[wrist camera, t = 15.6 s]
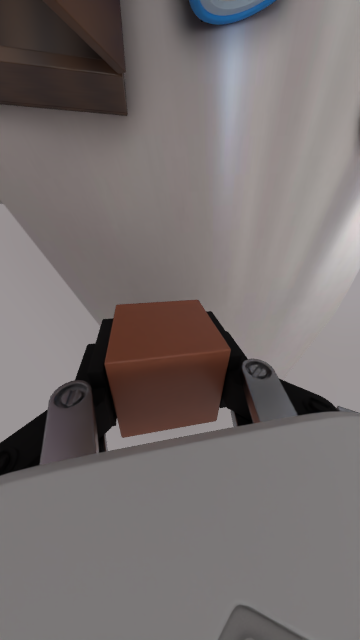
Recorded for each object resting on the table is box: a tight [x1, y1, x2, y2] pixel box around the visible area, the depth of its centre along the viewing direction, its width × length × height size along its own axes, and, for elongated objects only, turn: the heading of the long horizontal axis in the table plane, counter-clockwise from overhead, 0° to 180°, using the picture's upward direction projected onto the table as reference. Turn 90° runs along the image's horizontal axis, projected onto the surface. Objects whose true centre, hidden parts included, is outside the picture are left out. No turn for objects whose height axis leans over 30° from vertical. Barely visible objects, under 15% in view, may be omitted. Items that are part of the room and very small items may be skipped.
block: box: [104, 300, 231, 438], centre depth 10 cm, size 4×4×4 cm
